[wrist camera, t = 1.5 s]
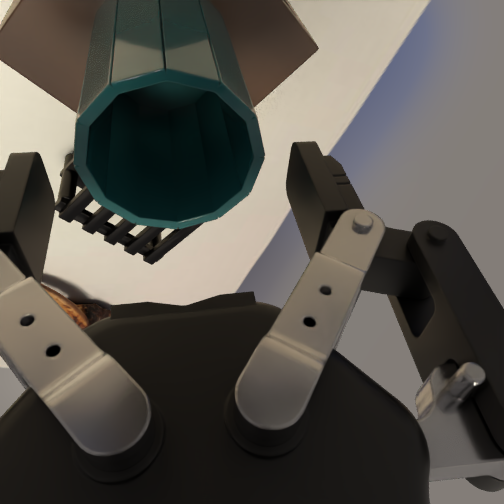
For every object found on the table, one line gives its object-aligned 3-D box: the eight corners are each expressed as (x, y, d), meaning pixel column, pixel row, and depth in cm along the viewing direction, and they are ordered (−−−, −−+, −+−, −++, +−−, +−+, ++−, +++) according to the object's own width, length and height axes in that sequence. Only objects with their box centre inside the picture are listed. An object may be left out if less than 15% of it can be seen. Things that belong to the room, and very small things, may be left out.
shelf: (142, -196, 23) (144, -181, 15) (271, -24, 30) (319, 49, 22) (30, -30, 27) (-15, 50, 19) (165, 86, 34) (173, 180, 26)
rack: (136, 78, 33) (136, 127, 29) (226, 152, 40) (237, 202, 35) (62, 159, 37) (51, 214, 33) (154, 215, 44) (156, 267, 39)
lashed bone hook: (121, 274, 50) (-67, 260, 43) (121, 307, 47) (-82, 296, 40) (110, 323, 56) (-58, 317, 49) (109, 355, 53) (-70, 353, 46)
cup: (154, -62, 17) (161, 23, 12) (253, 49, 21) (298, 155, 15) (65, 50, 20) (34, 168, 14) (169, 131, 24) (179, 250, 18)
